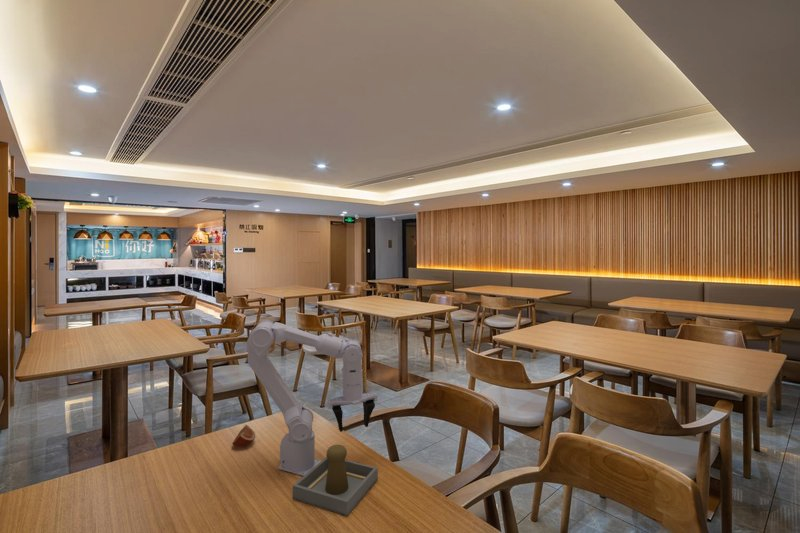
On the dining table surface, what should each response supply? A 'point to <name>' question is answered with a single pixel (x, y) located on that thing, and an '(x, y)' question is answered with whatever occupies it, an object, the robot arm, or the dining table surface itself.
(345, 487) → the cork
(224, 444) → the dining table surface
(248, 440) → the fruit slice
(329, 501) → the walled box
